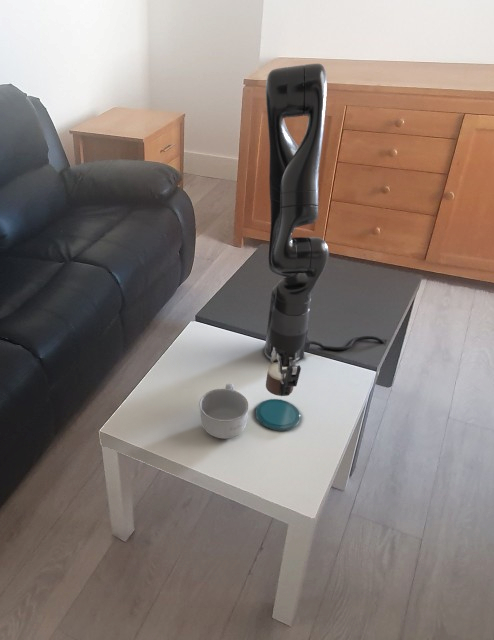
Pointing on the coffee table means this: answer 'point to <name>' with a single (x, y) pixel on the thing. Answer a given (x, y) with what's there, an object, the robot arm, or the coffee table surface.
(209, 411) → the teacup
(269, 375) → the cake
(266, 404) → the cake plate
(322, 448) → the coffee table surface
